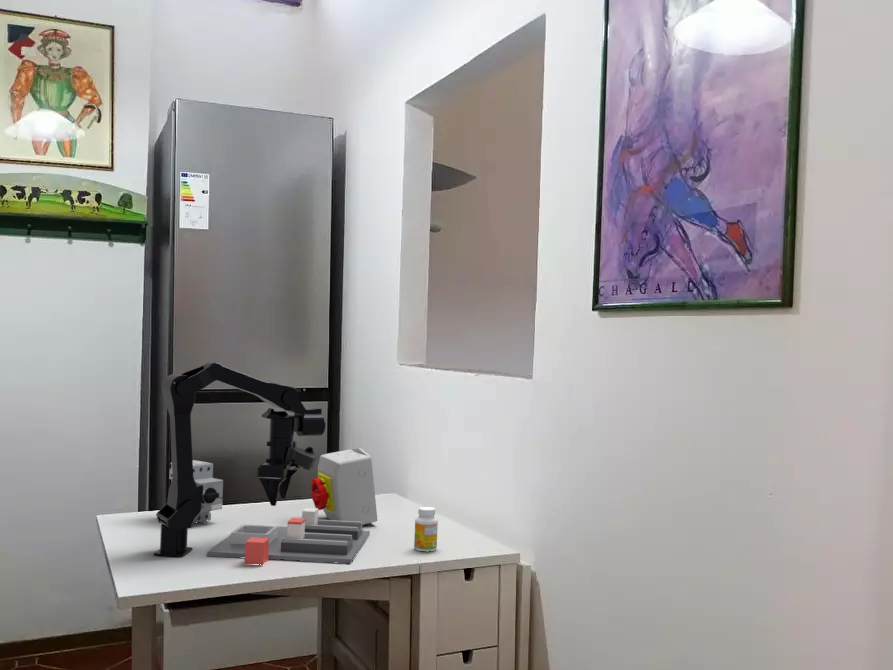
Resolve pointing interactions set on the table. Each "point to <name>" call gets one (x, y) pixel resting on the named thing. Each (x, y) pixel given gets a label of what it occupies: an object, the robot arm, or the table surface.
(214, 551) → the panel
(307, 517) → the toggle
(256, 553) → the coral foam cube
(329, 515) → the electrical switch box
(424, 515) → the supplement bottle
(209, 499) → the circuit breaker
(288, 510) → the table surface
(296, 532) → the toggle
